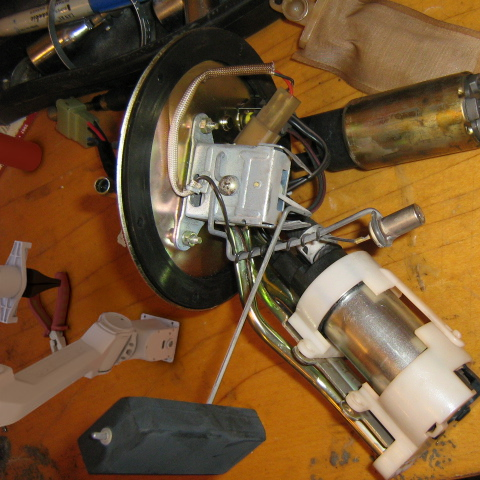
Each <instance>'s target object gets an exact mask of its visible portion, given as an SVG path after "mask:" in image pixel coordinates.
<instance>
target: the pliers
mask: <svg viewBox="0 0 480 480" xmlns="http://www.w3.org/2000/svg"><path fill="white" fill-rule="evenodd" d="M54 278H56V279H61V286H60V287H56V289H57V296H56V301H55V307H54V311H53V312H54V313H53V318H52V319H51V317H50V315H49V314H48V313H47V311H45V309H44V308H43V306H42V303H41V300H40V293H39V294H38V295H36V296H35V297H33V298H26V299H27V305H28V308H29V310H30V311H31V313H32V315H33V316H34V318H35V319H36V320H37V322H38V323H39V325H41V327H42V328H43V329H44V331H43V332H42V333H41V335H42V337H43V339H44V338H45V339H46V338H47V339H48V338H50V340H49V345H50V350H51V354H53V353H54V352H56V351H58V350H60V349H62V348H64V347H66V346H67V343H66V338H65V336H63V335H64V334H63V332H64V331H65V330H68V329H69V325H66V324H65V322H66V316H67V312H68V306H69V300H70V284H69V280H68V276H67V274H66V272H64V271H57V272H55V273H54Z"/></svg>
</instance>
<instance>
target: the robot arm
mask: <svg viewBox="0 0 480 480" xmlns="http://www.w3.org/2000/svg"><path fill="white" fill-rule="evenodd" d="M32 246H33V243H32V242H30V241H23V240H14V243H13V246H12V249H11V252H10V254H9V255H8V258H7V260H6V262H5V264H0V323H4V324H16V323H18V320H19V317H18V316H17V312H18V306H19V303H20V301H21V299H22V298H26V299H27V298H33V297H35V296H36V295H38V294H39V295H40V294H41V293H43V292H46V291H48V290H52V289H55V288H56V289H57V287H60V286H61V279H56V278H55V277H51V276H48V275H45V274H44V273H42V272H40V270H37V269H36V268H31V267H27V259H28V253H29V250H30V249H32ZM180 325H181V324H180V322H179V321H177V320H173V319H169V318H165V317H160V316H157V315H153V314H149V313H141V315H140V319H130V318H129V317H127V316H126V315H124V314H122V313H119V312H115V311H106V312H102V313H101V314H100V315H99V317H98V319H97V321H95V322H94V323H93V324H91V326H90V327H89V328H88V329H87V330H86V331H85V332H84V334H82V336H80V338H79V339H77V340H75V341H73V342H71V343H69V344H66V347H64V348H62V349H60V350H58V351H56V352H54V353H51V354H49V355H47V356H45V357H43V358H42V359H40V360H37V361H36V362H34V363H32V364H30V365H29V366H27V367H25V368H23V369H21V370H19V371H18V372H16V373H14V370H13V368H12V367H11V366H8V365H5V364H2V363H0V428H1V427H7V426H9V425H13V424H15V423H17V422H19V421H20V420H22V419H23V418H25V417H26V416H28V415H29V414H30V413H32V412H34V411H35V410H36V409H38V408H39V407H40V406H42V405H43V404H45V403H47V402H48V401H49V400H51V399H53V398H54V397H55V396H57V395H58V394H60V393H61V392H62V391H64V390H65V389H66V388H68V387H70V386H71V385H73V384H74V383H76V382H77V381H78V380H80V379H82V378H83V377H84V378H87V379H90V380H92V379H93V378H95V377H96V376H102V375H107V374H109V373H110V372H111V371H112V369H113V367H114V366H119V365H120V364H121V363H122V362H126V361H131V360H143V361H147V362H157V361H163V362H166V363H173V362H174V360H175V355H176V348H177V342H178V336H179V330H180Z"/></svg>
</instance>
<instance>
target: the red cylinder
mask: <svg viewBox="0 0 480 480" xmlns="http://www.w3.org/2000/svg"><path fill="white" fill-rule="evenodd" d="M42 151H43V150H42V147H41V146H40V145H39V144H38V143H35V142H32V141H29V140H27V139H22V138H19V137H17V136H13V135H11V134H6V133H3V132H0V165H1V166H5V167H9V168H13V169H18V170H22V171H25V172H34V171H35V170H36V169H38V167H39V166H40V164H41V162H42V158H43V152H42Z"/></svg>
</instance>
